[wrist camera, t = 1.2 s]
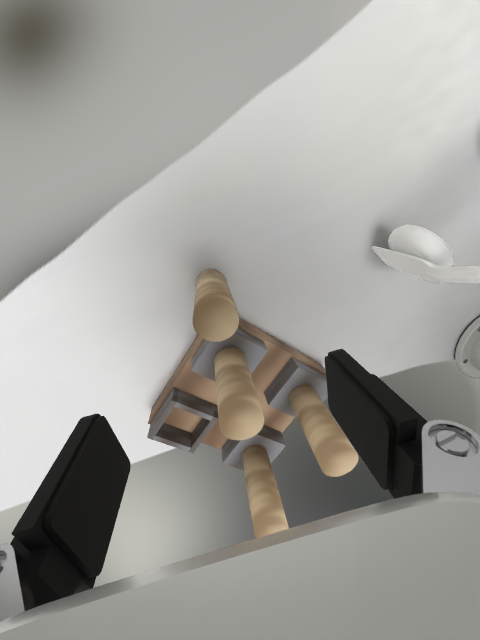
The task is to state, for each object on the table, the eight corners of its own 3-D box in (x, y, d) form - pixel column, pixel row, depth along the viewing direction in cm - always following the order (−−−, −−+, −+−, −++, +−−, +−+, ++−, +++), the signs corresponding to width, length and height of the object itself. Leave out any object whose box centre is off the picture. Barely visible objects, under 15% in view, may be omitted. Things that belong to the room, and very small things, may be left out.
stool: (320, 363, 37) (390, 448, 23) (253, 446, 42) (278, 558, 28) (217, 305, 32) (228, 372, 18) (152, 407, 36) (120, 524, 22)
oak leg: (231, 279, 31) (248, 313, 20) (216, 303, 32) (223, 348, 20) (205, 263, 30) (207, 290, 18) (191, 289, 30) (184, 329, 19)
